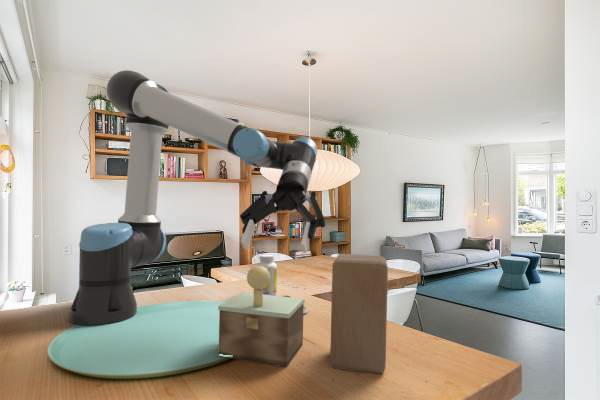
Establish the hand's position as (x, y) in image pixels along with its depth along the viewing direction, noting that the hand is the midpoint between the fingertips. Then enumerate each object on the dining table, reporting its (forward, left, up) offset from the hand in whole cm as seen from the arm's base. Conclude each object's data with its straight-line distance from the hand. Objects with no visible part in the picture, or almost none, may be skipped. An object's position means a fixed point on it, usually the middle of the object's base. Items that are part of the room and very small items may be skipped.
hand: (273, 247), depth 77 cm
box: (-1, -4, -21) cm, 21 cm away
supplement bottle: (-5, +39, -21) cm, 45 cm away
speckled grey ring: (+2, +23, -21) cm, 31 cm away
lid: (-1, -4, -11) cm, 12 cm away
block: (+18, -8, -21) cm, 28 cm away
